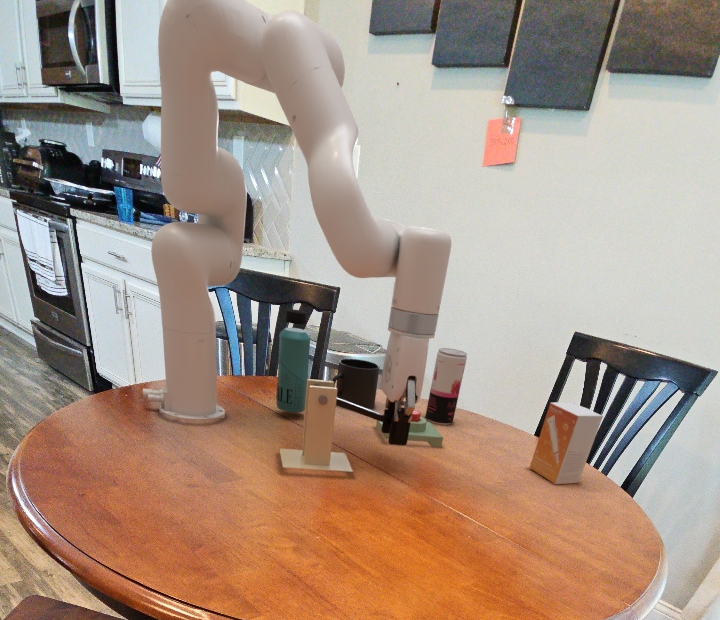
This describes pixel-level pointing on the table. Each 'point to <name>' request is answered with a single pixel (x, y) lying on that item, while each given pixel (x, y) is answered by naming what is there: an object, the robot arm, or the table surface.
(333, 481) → the table surface
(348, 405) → the lever
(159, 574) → the table surface
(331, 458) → the bracket
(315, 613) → the table surface
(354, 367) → the mug
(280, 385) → the beverage bottle
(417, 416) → the button
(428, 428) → the control block
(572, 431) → the small box
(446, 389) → the beverage can
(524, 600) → the table surface
